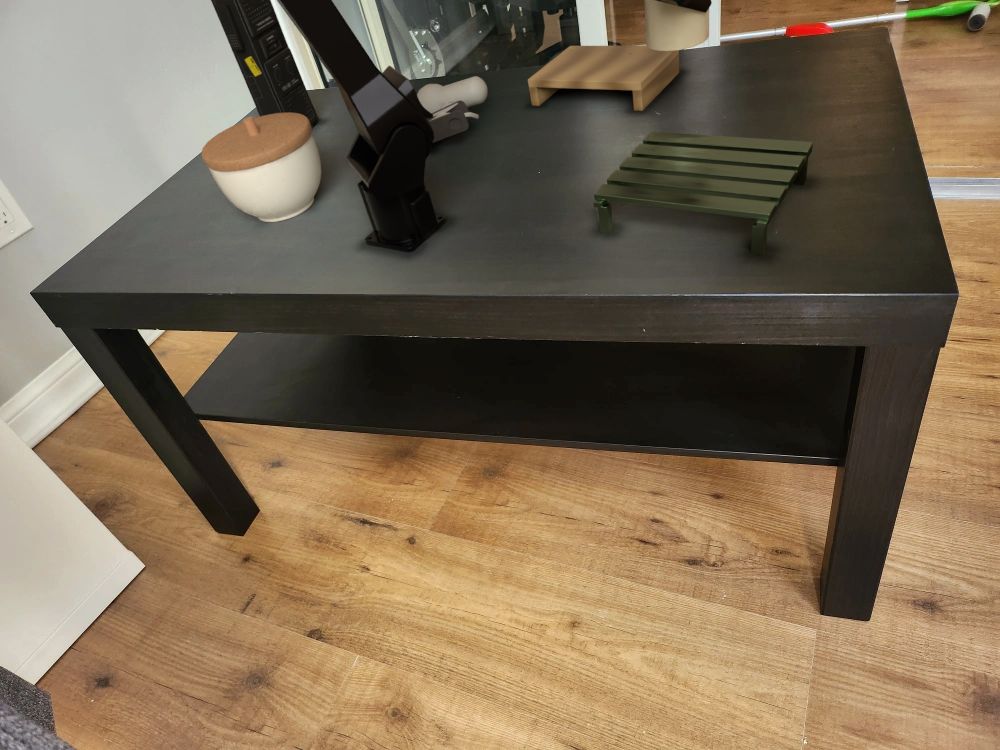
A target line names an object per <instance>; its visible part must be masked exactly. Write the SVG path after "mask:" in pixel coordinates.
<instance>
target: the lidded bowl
mask: <svg viewBox="0 0 1000 750" xmlns="http://www.w3.org/2000/svg"><path fill="white" fill-rule="evenodd" d="M312 127H313V126H312ZM312 127H311V124H310V122H309V120H308V118H307V117H305V116H304V115H302V114H298V113H275V114H269V115H264V116H257V117H254V116H247V117H245V118H243V119H242V121H241V122H238V123H237V124H234V125H232V126H229V127H228V128H226V129H224V130H222V131H220V132H219V133H217V134H216V135H215V136H213V137H212V138H211V139H209V140H208V141H207V142H206V143H205V144H204V146H203V147H202V149H201V153H200V155H201V158H202V161H203V162H204V164H205V165H206V167H207V168H208V170H209V171H210V173H211V176H212V177H213V179H214V181H215V183H216V185H217V186H218V187H219V189H220V191H221V192H222V193H223V195H224V196H225V197H226V198H227V200H228V201H229V202H230V203H231V204H232V205H233V206H234V207H236V208H237V209H239V210H240V211H242V212H243V213H246V214H248V215H249V216H253V217H255V218H257V219H258V220H259V221H260V222H261V221H262V222H264V223H277V222H282V221H286V220H289V219H292V218H295V217H297V216H299V215H301V214H302V213H304V212H306V211H307V210H308V209H309V208H310V207H311V206H313V203H314V202H315V195H316V194H317V192H318V189H319V187H320V184H321V180H322V162H321V155H320V152H319V148H318V144H317V141H316V139H315V136H314V133H313V128H312Z"/></svg>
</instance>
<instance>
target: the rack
mask: <svg viewBox="0 0 1000 750" xmlns="http://www.w3.org/2000/svg"><path fill="white" fill-rule="evenodd" d="M813 146H814V141H806V140H805V141H804V140H789V139H788V140H787V139H775V138H774V139H773V138H756V137H743V136H742V137H740V136H726V135H710V134H694V133H680V132H679V133H676V132H661V131H649V133H648V134H647V135H646V136H644V138H643V139H642V143H639V144H638V145H637V146H636V147H635V148H634V149H633V150H632V151H631V153H630V154H631V156H627V157H625V159H624V160H622V162H621V163H620V164H619V167H618V168H619V169H615V170H614V171H613V172H612V173H611V174H610V175H609V177H607V179H606V183H602V184H601V185H600V186H599V188H597V189H596V191H595V192H594V193H593V199H594V201H593V202H592V203H593V207H594V208H595V209H597V214H598V223H599V232H600V233H605V234H610V233H611V232H612V230H613V229H614V220H613V219H614V217H613V209H612V203H613V202H614V203H619V204H620V203H622V204H628V205H629V204H630V205H639V206H646V207H654V208H661V209H662V208H663V209H672V210H679V211H680V210H681V211H688V212H695V213H705V214H713V215H719V216H722V215H723V216H727V217H729V216H730V217H737V218H744V219H745V218H746V219H754V220H755V221H754V222H753V224H752V226H751V227H752V228H751V244H750V247H751V248H750V254H751V255H756V256H764V254H765V253H766V251H767V243H768V242H767V241H768V226H769V225H770V223H771V221H772V219H773V218H774V216H775V214H776V213H777V211H778V209H779V207H780V206H781V204H782V203H783V202H784V199H785V198H786V196H787V194H788V193H789V191H790V189H791V188H792V186H793V185H795V186H796V185H797V186H804V184H805V183H806V181H807V175H808V165H809V157H810V156H811V154H812V152H813V148H814V147H813Z"/></svg>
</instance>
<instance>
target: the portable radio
mask: <svg viewBox="0 0 1000 750" xmlns="http://www.w3.org/2000/svg"><path fill="white" fill-rule="evenodd" d="M210 2H211V4H212V6H213V8H214V12H215V13H216V15H217V18H218V20H219V23H220V25H221V27H222V31H223V32H224V34H225V37H226V39H227V42H228V44H229V46H230V49H231V52H232V54H233V56H234V58H235V61H236V64H237V66H238V68H239V71H240V72H241V75H242V77H243V80H244V83H245V84H246V87H247V89H248V91H249V93H250V96H251V98H252V101H253V103H254V106H255V108H256V111H257V113H258V115H259V116H258V117H260V116H264V115H269V114H275V113H298V114H302V115H304V116H305V117H307V118H308V120H309V122H310V124H311V127H314V126H315V125H316V124H317V123H318V122H319V119H320V118H319V116H318V113H317V110H316V108H315V106H314V104H313V102H312V100H311V97H310V95H309V92H308V90H307V87H306V85H305V83H304V80H303V78H302V75H301V72H300V70H299V67H298V65H297V63H296V60H295V57H294V55H293V52H292V50H291V48H290V47H289V45H288V42H287V40H286V37H285V35H284V32H283V29H282V27H281V24H280V21H279V19H278V16H277V13H276V11H275V7H274V6H273V5H274V4H273V3H272V0H210Z"/></svg>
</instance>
